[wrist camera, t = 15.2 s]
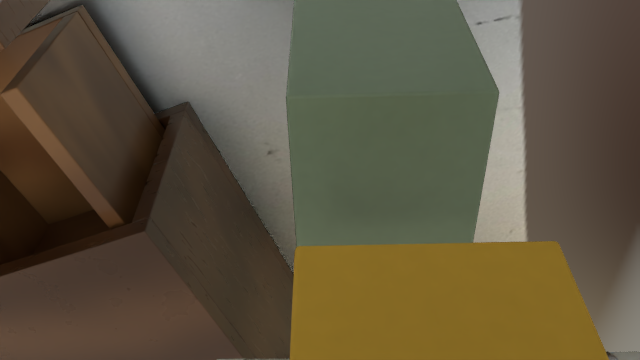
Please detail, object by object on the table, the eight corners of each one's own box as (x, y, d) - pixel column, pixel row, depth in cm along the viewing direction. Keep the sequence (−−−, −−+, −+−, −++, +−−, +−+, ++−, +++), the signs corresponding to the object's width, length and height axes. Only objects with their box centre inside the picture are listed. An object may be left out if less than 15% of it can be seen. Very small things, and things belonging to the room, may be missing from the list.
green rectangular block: (301, -87, 27) (285, 95, 14) (414, -91, 27) (500, 90, 14) (305, 20, 30) (296, 250, 17) (407, 18, 30) (473, 246, 17)
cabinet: (-5, 171, 36) (-101, 308, 27) (188, 100, 33) (144, 231, 25) (133, 322, 44) (90, 462, 36) (295, 277, 41) (290, 418, 33)
